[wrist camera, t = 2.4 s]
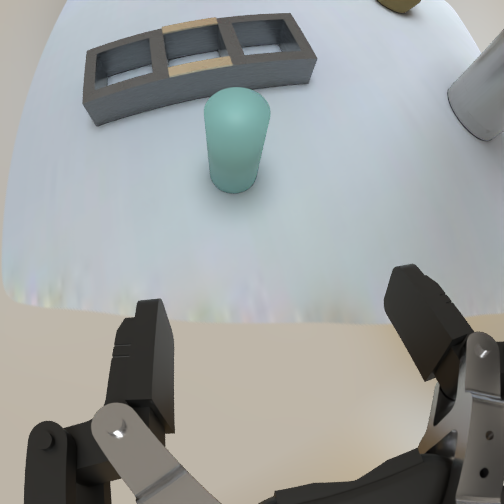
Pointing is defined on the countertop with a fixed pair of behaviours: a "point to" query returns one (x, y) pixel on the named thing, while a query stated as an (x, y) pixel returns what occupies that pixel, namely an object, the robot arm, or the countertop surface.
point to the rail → (194, 63)
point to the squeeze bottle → (399, 4)
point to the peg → (235, 137)
